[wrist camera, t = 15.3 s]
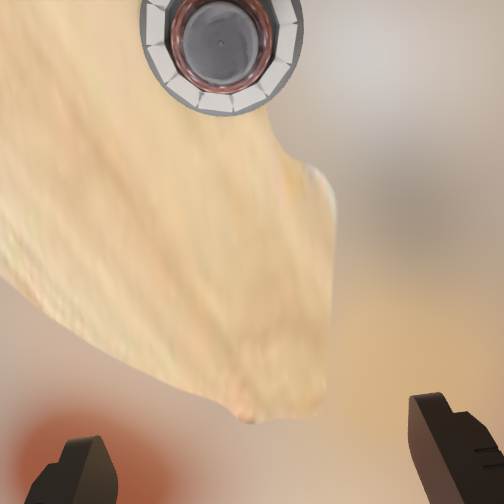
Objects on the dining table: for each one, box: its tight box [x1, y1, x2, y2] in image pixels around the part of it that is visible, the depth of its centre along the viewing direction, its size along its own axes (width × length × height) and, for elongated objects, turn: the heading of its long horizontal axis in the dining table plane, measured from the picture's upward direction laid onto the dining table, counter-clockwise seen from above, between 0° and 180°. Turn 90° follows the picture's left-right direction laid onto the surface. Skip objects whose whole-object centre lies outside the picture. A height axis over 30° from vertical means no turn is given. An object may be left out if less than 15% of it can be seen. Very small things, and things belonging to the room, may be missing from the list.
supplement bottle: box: [171, 0, 273, 94], centre depth 29 cm, size 6×6×11 cm
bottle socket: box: [140, 0, 304, 116], centre depth 33 cm, size 12×12×4 cm
